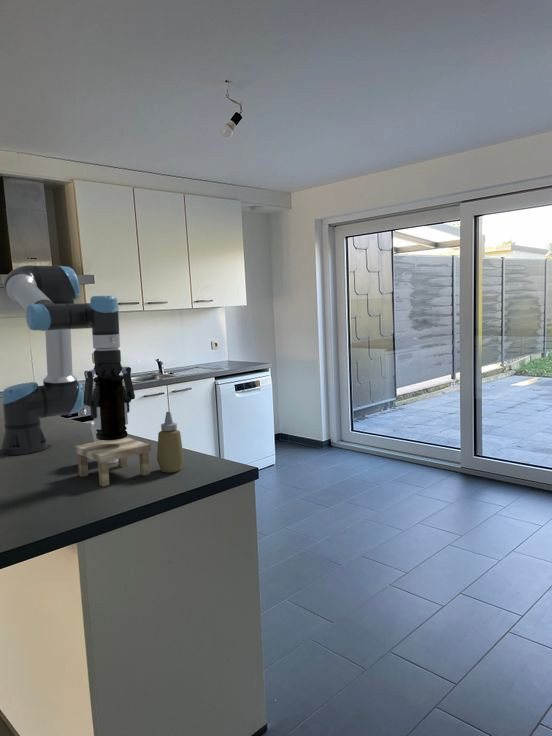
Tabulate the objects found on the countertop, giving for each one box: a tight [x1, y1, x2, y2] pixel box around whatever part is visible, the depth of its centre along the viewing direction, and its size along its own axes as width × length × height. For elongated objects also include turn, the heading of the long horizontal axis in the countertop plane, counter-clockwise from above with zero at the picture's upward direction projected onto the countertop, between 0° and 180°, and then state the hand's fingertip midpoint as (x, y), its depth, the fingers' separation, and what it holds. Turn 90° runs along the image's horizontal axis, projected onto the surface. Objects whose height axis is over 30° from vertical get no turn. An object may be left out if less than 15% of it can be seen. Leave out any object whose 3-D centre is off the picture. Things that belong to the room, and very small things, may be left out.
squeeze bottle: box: [156, 411, 185, 473], centre depth 166 cm, size 8×8×18 cm
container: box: [93, 375, 129, 441], centre depth 162 cm, size 9×9×18 cm
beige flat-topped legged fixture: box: [74, 436, 152, 487], centre depth 164 cm, size 16×16×9 cm
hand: (111, 426), depth 162 cm, fingers closed on container, 8 cm apart
